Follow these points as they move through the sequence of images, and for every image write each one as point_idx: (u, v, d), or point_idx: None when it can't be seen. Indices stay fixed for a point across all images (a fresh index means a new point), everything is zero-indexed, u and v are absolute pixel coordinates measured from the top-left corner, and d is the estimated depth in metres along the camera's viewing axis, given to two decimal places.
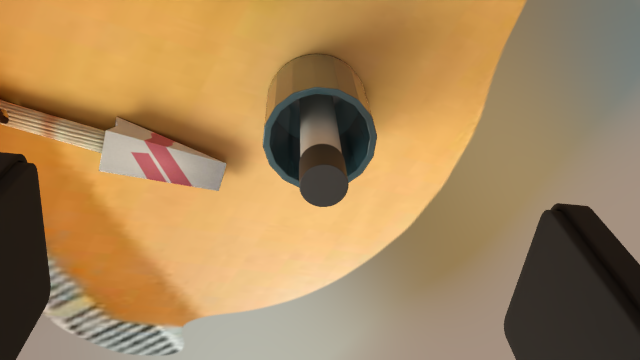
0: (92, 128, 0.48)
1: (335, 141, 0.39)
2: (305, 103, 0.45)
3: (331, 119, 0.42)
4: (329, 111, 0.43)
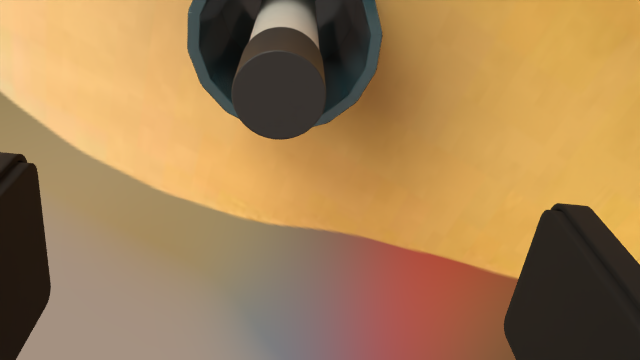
0: None
1: None
2: None
3: None
4: None
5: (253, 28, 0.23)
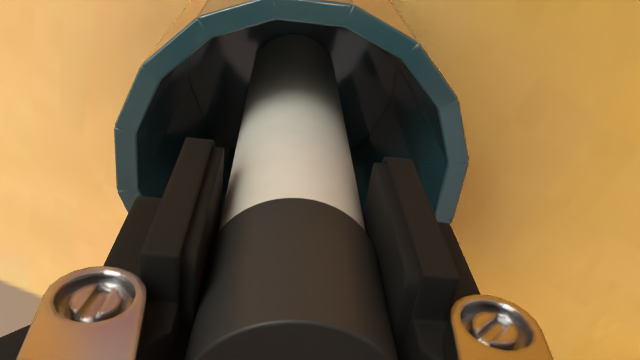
0: None
1: None
2: (326, 70, 0.17)
3: None
4: None
5: (235, 158, 0.13)
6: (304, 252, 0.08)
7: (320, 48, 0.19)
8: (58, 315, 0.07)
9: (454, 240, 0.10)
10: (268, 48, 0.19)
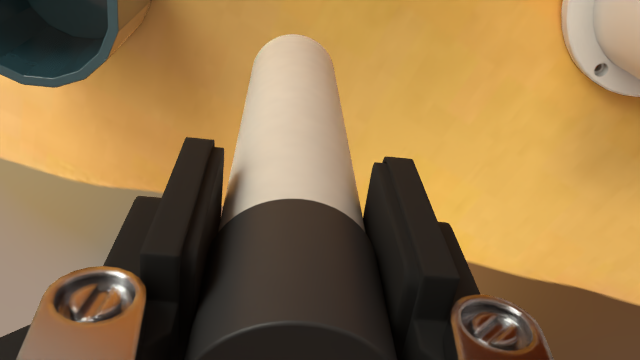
0: None
1: None
2: (326, 70, 0.17)
3: None
4: None
5: (235, 159, 0.13)
6: (303, 253, 0.08)
7: (320, 48, 0.19)
8: (58, 315, 0.07)
9: (454, 240, 0.10)
10: (268, 48, 0.19)
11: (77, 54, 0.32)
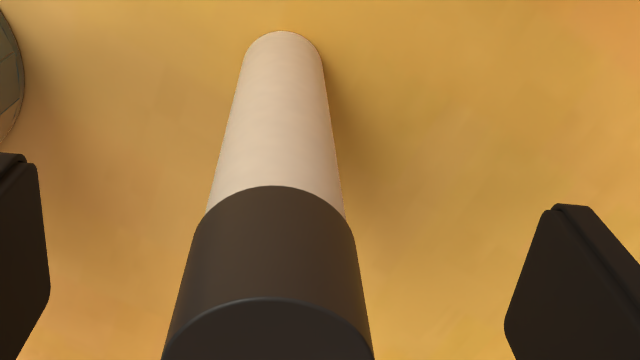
0: None
1: None
2: (313, 65, 0.18)
3: None
4: None
5: (221, 150, 0.13)
6: (281, 235, 0.09)
7: (308, 44, 0.19)
8: None
9: None
10: (257, 44, 0.19)
11: None
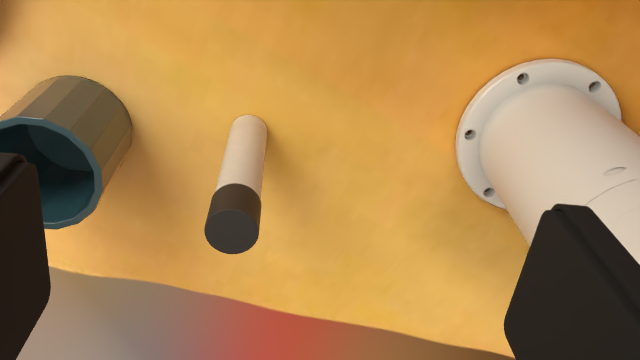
0: None
1: None
2: (259, 133, 0.42)
3: None
4: None
5: (220, 171, 0.37)
6: (235, 196, 0.33)
7: (259, 121, 0.44)
8: None
9: None
10: (236, 122, 0.43)
11: (73, 192, 0.42)
